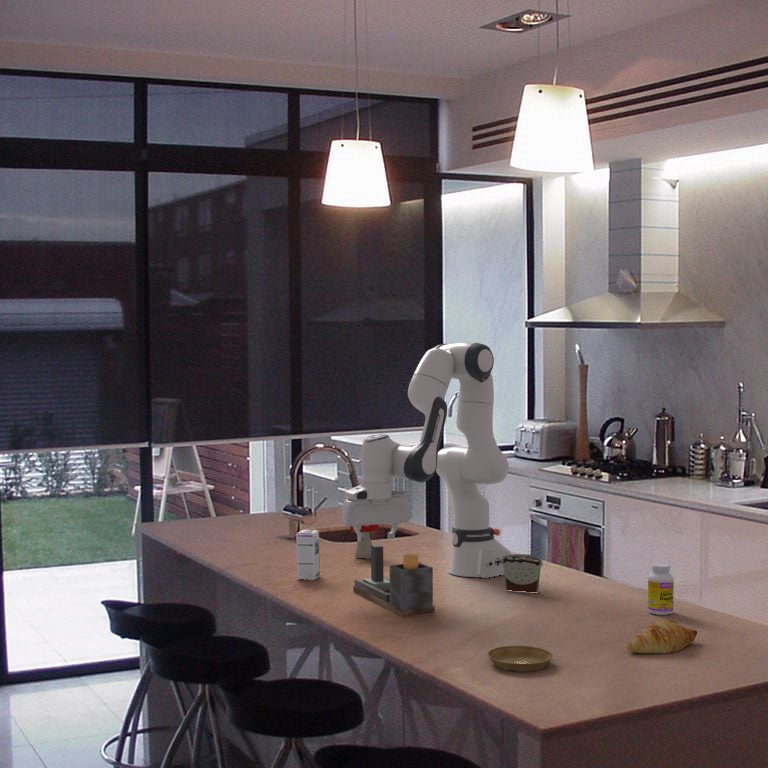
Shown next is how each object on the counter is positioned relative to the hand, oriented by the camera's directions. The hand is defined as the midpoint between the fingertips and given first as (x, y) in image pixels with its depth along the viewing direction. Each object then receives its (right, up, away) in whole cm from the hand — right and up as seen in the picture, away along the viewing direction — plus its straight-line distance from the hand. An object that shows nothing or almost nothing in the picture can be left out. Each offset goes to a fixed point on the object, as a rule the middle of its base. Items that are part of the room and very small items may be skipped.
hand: (376, 539), depth 333 cm
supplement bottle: (+76, -16, -24) cm, 81 cm away
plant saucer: (+33, -19, -70) cm, 80 cm away
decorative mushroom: (-4, -13, +54) cm, 56 cm away
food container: (+43, -15, +4) cm, 46 cm away
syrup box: (-21, -15, +23) cm, 35 cm away
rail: (+5, -16, -8) cm, 19 cm away
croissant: (+68, -18, -57) cm, 91 cm away
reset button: (+10, -8, -19) cm, 23 cm away
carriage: (0, -14, +1) cm, 14 cm away
